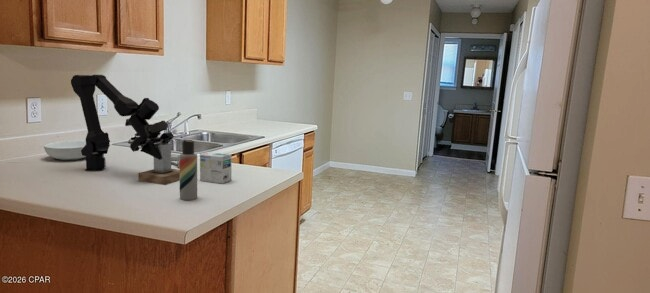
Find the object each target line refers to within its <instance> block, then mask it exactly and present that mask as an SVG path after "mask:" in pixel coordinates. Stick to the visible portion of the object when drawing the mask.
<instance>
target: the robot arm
mask: <svg viewBox="0 0 650 293" xmlns="http://www.w3.org/2000/svg"><path fill="white" fill-rule="evenodd" d="M70 84H71V86H72V87H71V88H72V90H73V92H74V93H75V95H77V96H78V97H79V100H80V103H81V104H80V105H81V108H82V112H83V117H84V121H85V125H86V129H87V134H86V135H85V141H86V145H85V146H84V148H83V149H82V150H81V153H82V156H86V157H85V165H86V168H85V171H103V170H104V169H105V168H106V167H107V166H106V164H107V162H106V157H105V155H106V154H108V151H109V147H110V145H111V144H110V143H111V140H110V137H109V133H108V132H104V131H103V130H102V127H101V123H100V117H99V115H98V110H97V107H96V106H97V105H96V102H95V98H94V96H95V95H94V94H95V91H96V88H97V89H99V91H100V92H101V93H102V94H103V95H104V96H106V97H107V98H108V100H110V101H111V102H112V103H113V108H114V110H115V111H116V112H117V114H118V116H120V117H129V118H127V119H125V123H124V125H125V127H129V126H130V127H132V129H133V130H134V131H135V139H134V140H132V142H131V143H130V144H129V145H130V146H129V148H130V150H131V151H132V152H133V153H134V152H137V151H138V152H139V151H140V152H141V153H145V154H147V155H149V156H152V157H153V158H154V157H155V158H157V159H159V160H161V159H162V157H161V155H160V154H159V152H158V151H157V149H156V148H155V146H154V144H157V143H168V144H170V142H171V141H172V140H173V139H174V137H175V135H174V134H173V133H172V132H163V131H166V130H167V131H168V129H167V128H169V124H168V123H167V122H166V120H161V121H158V122H154V123H151V124H150V123H149V122H148V121H149V120H151V119H152V118H153V116H155V114H156V113H157V112H158V111H159V110H160V106H159V105H158V103H156V102H155V101H153V100H152V99H150V98H149V97H144V98H143V99H142V100H141V101H140V103H139V104H138V102H136V101H135V100H133V99H132V98H130V97H127V96H126V95H123V93H122V92H120V90H119V89H117V88H116V86H115V85H113V84H112V83H111V82H110V81H109V80H108V79H107V77H106V76H105V74H91V75H90V74H88V75H87V74H74V75H73V76H72V77H71V79H70ZM162 132H163V133H162ZM140 148H141V149H140Z"/></svg>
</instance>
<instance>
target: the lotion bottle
mask: <svg viewBox="0 0 650 293" xmlns="http://www.w3.org/2000/svg"><path fill="white" fill-rule="evenodd" d="M181 142H182V144H181V146H182V147H181V148H182V153H180V154H179V155H180V156H179V161H178V162H179V165H180V168H179V170H180V180H179V199H180V200H183V201H193V200H196V199H197V198H198V154H197V153H196V152H195V141H194V140H192V139H183V140H182V141H181Z"/></svg>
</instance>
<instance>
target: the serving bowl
mask: <svg viewBox="0 0 650 293" xmlns="http://www.w3.org/2000/svg"><path fill="white" fill-rule="evenodd" d="M85 145H86V140H61V141H53V142H49V143H48V142H47V143H45V144H44V145H43V149H44V152H45V153H46V155H48V156H50V157H51V158H52V159H56V160H57V159H58V160H61V161H76V160H81V159H83V158H86V156H82V153H81V150H82V149H83V148H84V146H85Z"/></svg>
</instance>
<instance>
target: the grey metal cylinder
mask: <svg viewBox="0 0 650 293" xmlns="http://www.w3.org/2000/svg"><path fill="white" fill-rule="evenodd" d="M179 156H180V154H177V153H171V162H176V164H177V166H178V167H177V168H178V169H180V165H179Z"/></svg>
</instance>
